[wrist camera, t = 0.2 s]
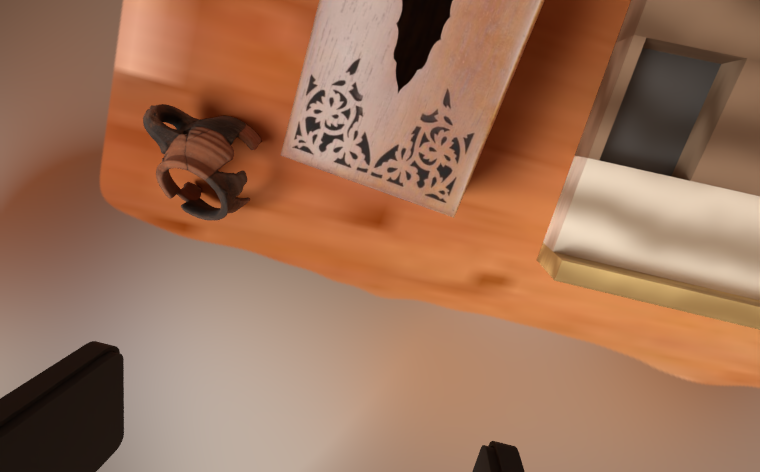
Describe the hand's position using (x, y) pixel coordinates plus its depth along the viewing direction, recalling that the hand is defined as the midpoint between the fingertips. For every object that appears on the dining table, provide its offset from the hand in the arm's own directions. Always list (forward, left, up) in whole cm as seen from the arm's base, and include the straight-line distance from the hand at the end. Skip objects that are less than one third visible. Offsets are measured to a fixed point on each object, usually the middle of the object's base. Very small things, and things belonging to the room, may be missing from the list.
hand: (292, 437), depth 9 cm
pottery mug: (-1, -19, -31) cm, 37 cm away
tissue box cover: (-16, 0, -32) cm, 35 cm away
